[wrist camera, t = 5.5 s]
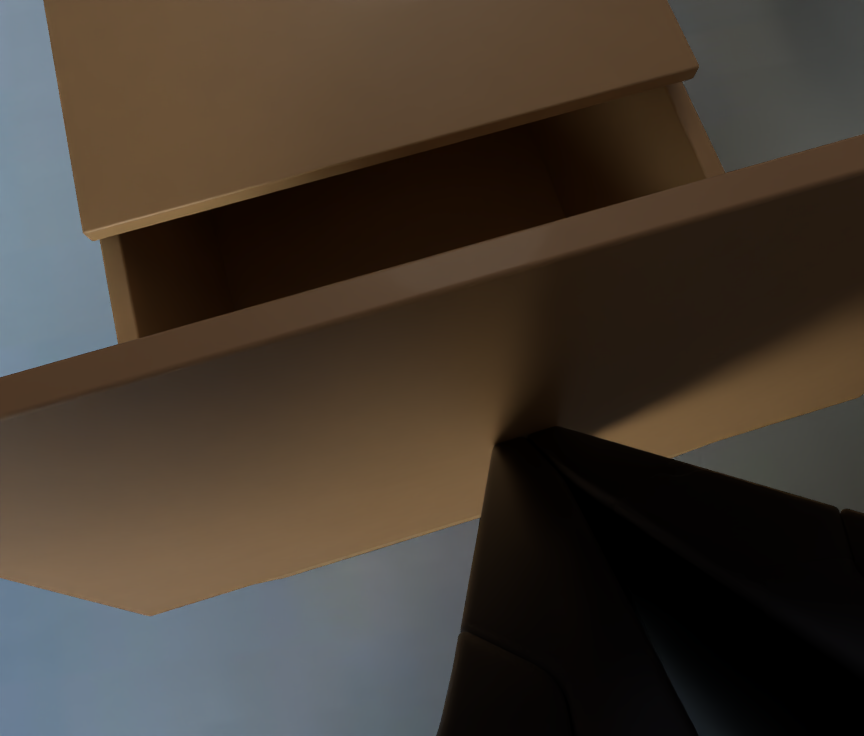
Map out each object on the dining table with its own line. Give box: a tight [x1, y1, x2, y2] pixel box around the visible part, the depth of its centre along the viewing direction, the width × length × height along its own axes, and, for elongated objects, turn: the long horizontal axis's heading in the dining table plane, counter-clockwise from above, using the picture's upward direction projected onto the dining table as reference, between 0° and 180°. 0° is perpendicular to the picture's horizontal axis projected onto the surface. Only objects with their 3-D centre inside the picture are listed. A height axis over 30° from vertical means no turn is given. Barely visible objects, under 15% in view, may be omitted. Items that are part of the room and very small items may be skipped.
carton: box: [43, 0, 725, 584], centre depth 16 cm, size 13×12×9 cm
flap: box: [0, 134, 864, 616], centre depth 7 cm, size 6×12×1 cm
